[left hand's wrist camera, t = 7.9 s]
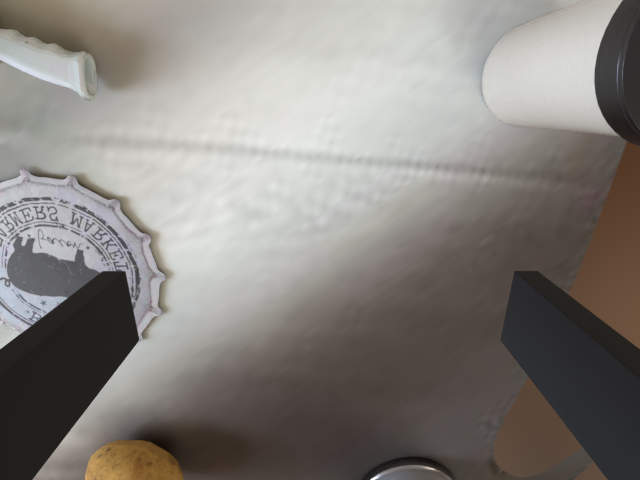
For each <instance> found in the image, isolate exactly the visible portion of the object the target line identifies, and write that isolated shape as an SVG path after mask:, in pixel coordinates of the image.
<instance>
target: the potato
mask: <svg viewBox="0 0 640 480" xmlns="http://www.w3.org/2000/svg"><path fill="white" fill-rule="evenodd" d="M85 480H183V473H182V470H181V467H180V465H179V463H178V461H177V460H176V459H175V458H174V457H173V456H172V455H171V454H170V453H168V452H167V451H165V450H163V449H162V448H160V447H158V446H157V445H155V444H153V443H151V442H148V441H143V440H117V441H113V442H109V443H107V444H106V445H104V446H103V447H101V448H100V449H99V450H98V451H97V452H96V453H94V454H93V455H92V456H91V458H90V461H89V463H88V467H87V471H86V475H85Z"/></svg>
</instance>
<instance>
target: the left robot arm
mask: <svg viewBox="0 0 640 480" xmlns="http://www.w3.org/2000/svg"><path fill="white" fill-rule="evenodd" d="M138 341H139V335H138V330H137V325H136V320H135V316H134V311H133V306H132V301H131V296H130V291H129V286H128V281H127V276H126V271H102V272H101V273H99V274H98V275H97V276H96V277H94V278H93V279H92V280H90V281H89V282H88V283H86V284H85V285H84V286H83V287H81V288H80V289H79V290H77V291H76V292H75V293H73V294H72V295H71V296H69V297H68V298H67V299H66V300H64V301H63V302H62V303H60V304H59V305H58V306H56V307H55V308H54V309H52V310H51V311H50V312H49V313H47V314H46V315H45V316H43V317H42V318H41V319H39V320H38V321H37V322H35V323H34V324H33V325H32V326H30V327H29V328H28V329H26V330H25V331H24V332H22V333H21V334H20V335H18V336H17V337H16V338H15V339H13V340H12V341H11V342H9V343H8V344H7V345H5V346H4V347H3V348H1V349H0V480H32V479H33V478H34V477H35V475H36V474H37V473H38V471H39V470H40V469H41V468H42V466H43V465H44V464H45V462H46V461H47V460H48V458H49V457H50V456H51V455H52V453H53V452H54V451H55V449H56V448H57V447H58V445H59V444H60V443H61V441H62V440H63V439H64V438H65V436H66V435H67V434H68V432H69V431H70V430H71V428H72V427H73V426H74V425H75V423H76V422H77V421H78V419H79V418H80V417H81V415H82V414H83V413H84V412H85V410H86V409H87V408H88V406H89V405H90V404H91V402H92V401H93V400H94V398H95V397H96V396H97V395H98V393H99V392H100V391H101V389H102V388H103V387H104V385H105V384H106V383H107V382H108V380H109V379H110V378H111V376H112V375H113V374H114V372H115V371H116V370H117V369H118V367H119V366H120V365H121V363H122V362H123V361H124V359H125V358H126V357H127V356H128V354H129V353H130V352H131V350H132V349H133V348H134V346H135V345H136V344H137V342H138ZM501 341H502V342H503V344H504V345H505V346H506V348H507V349H508V350H509V352H510V353H511V354H512V356H513V357H514V358H515V359H516V361H517V362H518V363H519V365H520V366H521V367H522V369H523V370H524V371H525V372H526V374H527V375H528V376H529V378H530V379H531V380H532V382H533V383H534V384H535V385H536V387H537V388H538V389H539V391H540V392H541V393H542V395H543V396H544V397H545V398H546V400H547V401H548V402H549V404H550V405H551V406H552V408H553V409H554V410H555V411H556V413H557V414H558V415H559V417H560V418H561V419H562V421H563V422H564V423H565V425H566V426H567V427H568V428H569V430H570V431H571V432H572V434H573V435H574V436H575V438H576V439H577V440H578V441H579V443H580V444H581V445H582V447H583V448H584V449H585V451H586V452H587V453H588V455H589V456H590V457H591V458H592V460H593V461H594V462H595V464H596V465H597V466H598V467H599V469H600V470H601V471H602V473H603V474H604V475H605V477H606V478H607V479H608V480H640V349H639V348H637V347H636V346H635V345H633V344H632V343H631V342H629V341H628V340H627V339H625V338H624V337H623V336H622V335H620V334H619V333H618V332H616V331H615V330H614V329H612V328H611V327H610V326H608V325H607V324H606V323H604V322H603V321H602V320H601V319H599V318H598V317H597V316H595V315H594V314H593V313H591V312H590V311H589V310H588V309H586V308H585V307H584V306H582V305H581V304H580V303H578V302H577V301H576V300H574V299H573V298H572V297H571V296H569V295H568V294H567V293H565V292H564V291H563V290H561V289H560V288H559V287H557V286H556V285H555V284H554V283H552V282H551V281H550V280H548V279H547V278H546V277H544V276H543V275H542V274H540V273H539V272H538V271H514V276H513V281H512V286H511V291H510V296H509V301H508V306H507V311H506V316H505V320H504V325H503V330H502V335H501ZM363 480H455V479H454V477H453V476H452V474H451V473H450V472H449V471H448V470H447V469H446V468H444V467H443V466H441V465H439V464H437V463H435V462H432V461H429V460H425V459H418V458H405V459H398V460H393V461H390V462H387V463H384V464H382V465H380V466H378V467H376V468H375V469H373V470H372V471H370V472H369V473H368V474H367V475H366V476H365V477H364V478H363Z"/></svg>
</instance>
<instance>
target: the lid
mask: <svg viewBox="0 0 640 480" xmlns="http://www.w3.org/2000/svg"><path fill="white" fill-rule="evenodd" d="M594 85H595V94H596V99H597V103H598V106H599V108H600V111H601V113H602V115H603V117H604V119H605V120H606V122H607V124H608V125H609V126H610V127H611V128H612V129H613V130H614V132H616V133H617V134H618V135H619V136H621V137H622V138H623V139H625V140H627V141H629V142H631V143H633V144H636V145H638V146H640V0H623V1H622V2H621V3H620V5H619V6H618V8H617V9H616V11H615V13H614V14H613V16H612V18H611V20H610V22H609V24H608V26H607V27H606V30H605V32H604V35H603V37H602V40H601V42H600V46H599V50H598V53H597V58H596V64H595V74H594Z"/></svg>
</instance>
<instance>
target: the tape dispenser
mask: <svg viewBox="0 0 640 480" xmlns="http://www.w3.org/2000/svg"><path fill="white" fill-rule="evenodd" d="M0 60H2V61H4V62H6V63H7V64H9V65H11V66H14V67H16V68H18V69H20V70H22V71H24V72H26V73H28V74H31V75H33V76H36V77H38V78H40V79H43V80H46V81H49V82H51V83H54V84H57V85H60V86H64V87H67V88H71V89H73V90H75V91H76V92H77V93H79V94H80V95H81V97H83V98H84V99H86V100H88V101H91V100H93V99H95V97H96V95H97V89H98V87H97V75H96V66H95V62H94V59H93V57H92V56H91V55H90V54H89V52H86V51H80V52H72V51H68V50H66V49H64V48H62V47H61V46H59V45H58V44H56V43H51V44H46V43H44V42H42V41H41V40H39V39H37V38H36V37H25V36H24V35H22V34H21V33H19V32H18V31H17V30H13V29H1V28H0Z"/></svg>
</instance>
